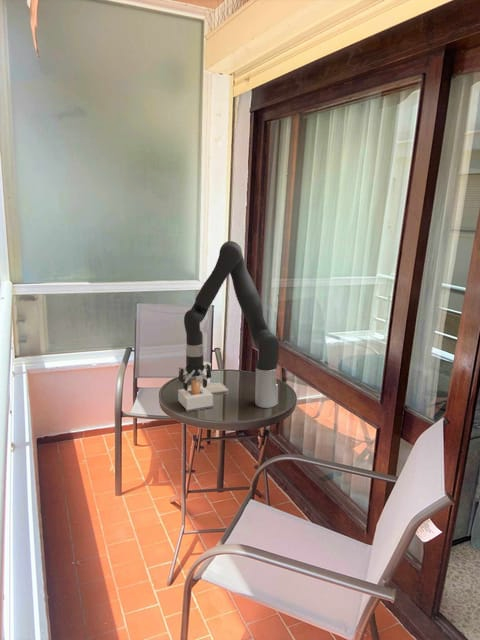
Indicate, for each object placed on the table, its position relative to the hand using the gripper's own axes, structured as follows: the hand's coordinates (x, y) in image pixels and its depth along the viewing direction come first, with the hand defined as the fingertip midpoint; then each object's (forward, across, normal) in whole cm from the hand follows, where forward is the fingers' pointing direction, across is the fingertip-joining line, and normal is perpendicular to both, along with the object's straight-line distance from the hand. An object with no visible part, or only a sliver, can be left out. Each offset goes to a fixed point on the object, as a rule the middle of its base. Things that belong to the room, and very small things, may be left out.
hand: (195, 388), depth 214 cm
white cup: (+8, -13, -25) cm, 29 cm away
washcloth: (+8, -11, -13) cm, 19 cm away
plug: (+7, 0, 0) cm, 7 cm away
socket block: (+8, 0, 0) cm, 8 cm away
